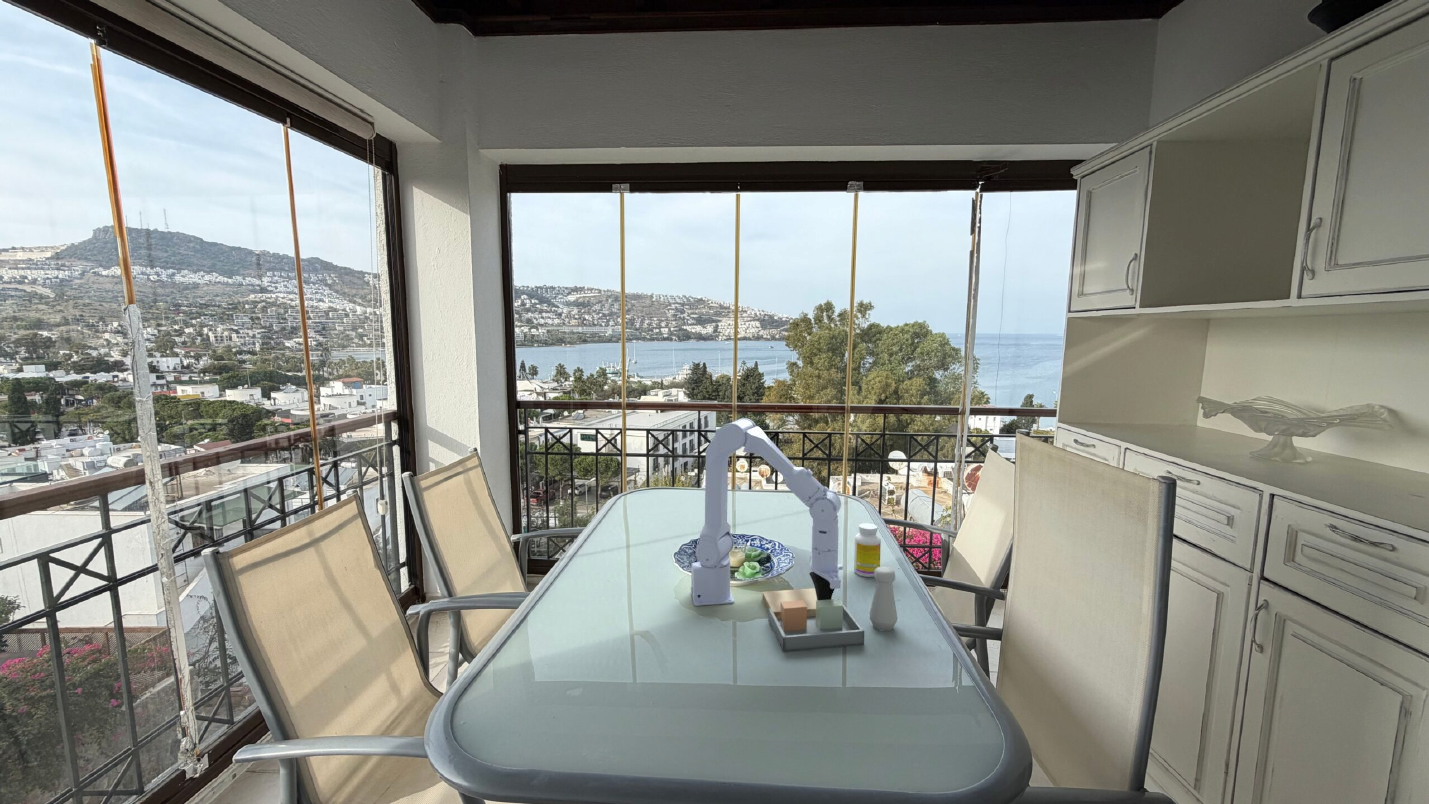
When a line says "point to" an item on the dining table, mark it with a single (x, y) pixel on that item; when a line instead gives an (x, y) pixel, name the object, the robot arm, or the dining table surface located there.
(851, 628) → the tray
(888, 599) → the salt shaker
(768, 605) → the board
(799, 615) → the tile terracotta
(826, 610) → the tile sage
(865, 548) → the supplement bottle
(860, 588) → the dining table surface
